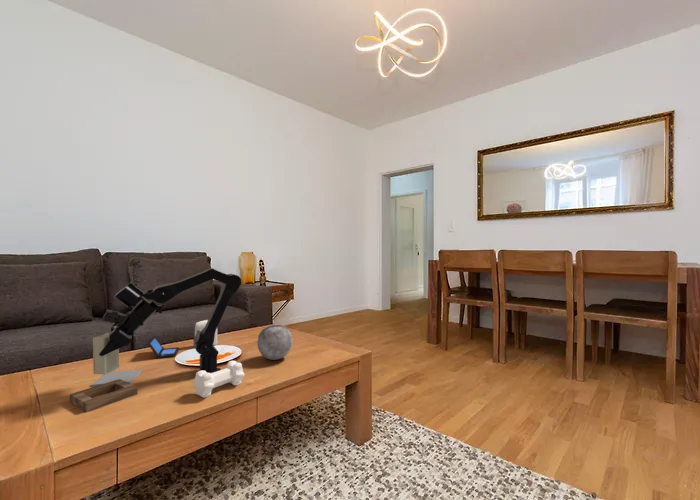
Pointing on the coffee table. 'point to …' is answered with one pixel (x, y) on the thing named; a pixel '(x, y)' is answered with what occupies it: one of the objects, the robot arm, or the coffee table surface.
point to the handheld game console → (162, 349)
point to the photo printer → (201, 326)
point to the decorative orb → (275, 341)
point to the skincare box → (107, 361)
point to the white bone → (217, 378)
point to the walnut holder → (89, 403)
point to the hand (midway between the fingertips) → (101, 352)
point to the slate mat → (117, 376)
